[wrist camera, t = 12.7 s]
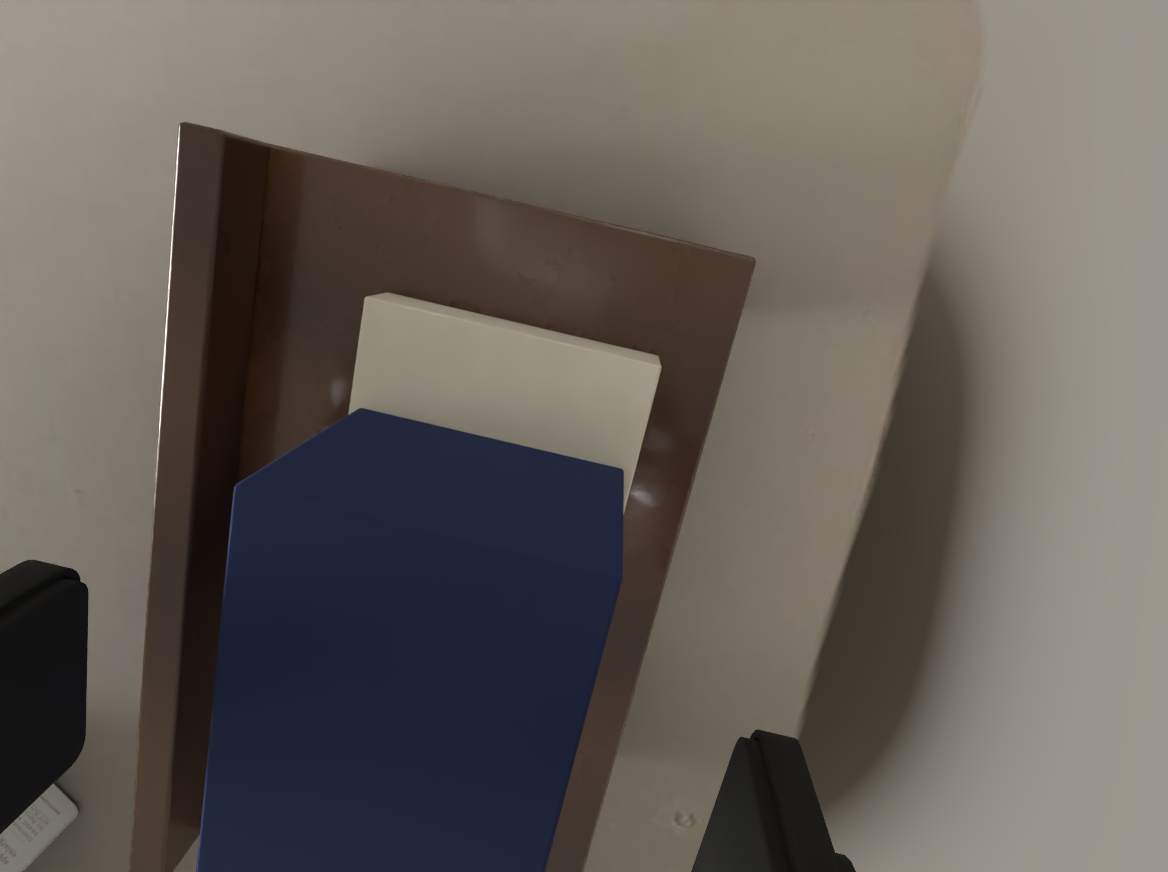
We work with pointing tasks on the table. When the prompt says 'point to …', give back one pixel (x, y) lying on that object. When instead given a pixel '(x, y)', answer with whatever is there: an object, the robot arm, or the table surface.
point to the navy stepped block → (424, 603)
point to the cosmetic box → (35, 829)
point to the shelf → (323, 391)
